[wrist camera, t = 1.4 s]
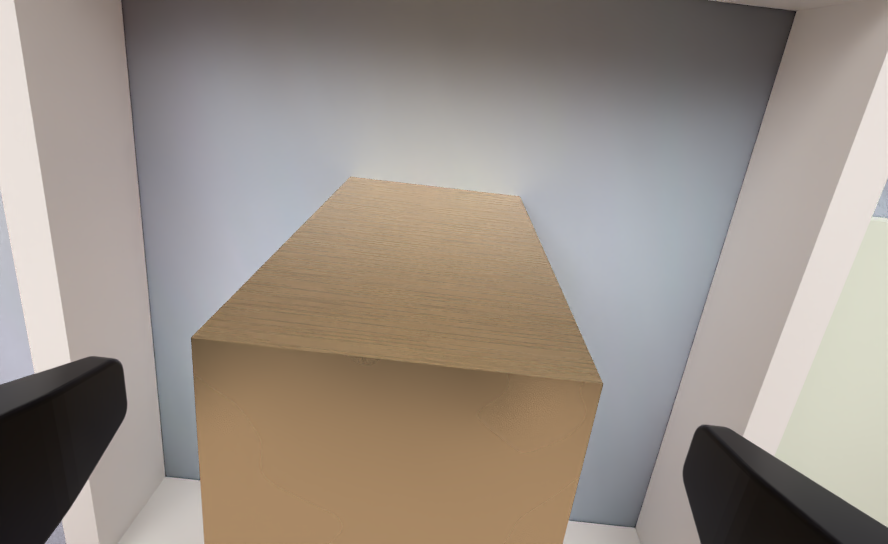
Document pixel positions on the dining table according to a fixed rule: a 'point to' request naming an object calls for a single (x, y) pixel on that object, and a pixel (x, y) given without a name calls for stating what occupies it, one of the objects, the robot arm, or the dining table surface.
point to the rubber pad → (849, 390)
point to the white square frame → (715, 344)
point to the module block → (395, 380)
